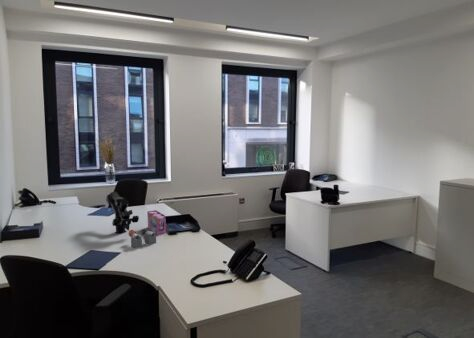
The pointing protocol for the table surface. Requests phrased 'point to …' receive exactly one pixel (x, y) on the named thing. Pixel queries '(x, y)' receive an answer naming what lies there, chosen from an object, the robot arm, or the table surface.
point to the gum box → (156, 222)
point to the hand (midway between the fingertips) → (128, 230)
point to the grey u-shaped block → (150, 238)
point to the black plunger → (146, 231)
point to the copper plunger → (132, 233)
